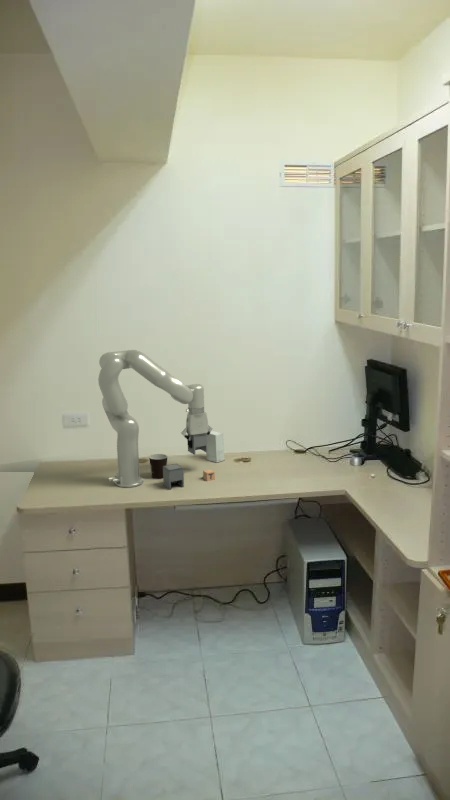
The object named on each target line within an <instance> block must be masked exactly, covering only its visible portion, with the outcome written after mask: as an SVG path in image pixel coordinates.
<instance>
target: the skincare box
mask: <svg viewBox="0 0 450 800" xmlns="http://www.w3.org/2000/svg"><path fill="white" fill-rule="evenodd" d="M224 440H225V439H224V432H220V431H216V430H212V431H211V432H210V434H209V435H208V437H207V453H206V452H205V454H206V460H207V461H210V462H213V463H220V462H224V461H225V459H226V458H225V457H226V456H225V442H224Z"/></svg>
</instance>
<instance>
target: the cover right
mask: <svg viewBox="0 0 450 800" xmlns="http://www.w3.org/2000/svg"><path fill="white" fill-rule="evenodd" d="M186 433H187V432H186ZM186 435H188V433H187V434H186ZM191 440H192V448H189V447H188V446H187V452H189V453H191V454H193V455H194V456H195V455H196V451H199V450H201V451H203V452H205V454H206V453H207V434H205V433H204V434H199V435H192V438H191Z"/></svg>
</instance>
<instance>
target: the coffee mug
mask: <svg viewBox="0 0 450 800" xmlns="http://www.w3.org/2000/svg"><path fill="white" fill-rule="evenodd" d="M148 459H149V460H148V461H149V466H150V473H151V478H153V479H154V480H163V466H166V465H168V454H164V453H156V454H151V455H149V456H148Z"/></svg>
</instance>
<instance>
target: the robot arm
mask: <svg viewBox="0 0 450 800" xmlns="http://www.w3.org/2000/svg"><path fill="white" fill-rule="evenodd" d="M98 362H99V363H98V364H99V367H100V371H99V374H98V378H97V381H98V386H99V389H100V392H101V394H102V396H103V397H102V398H101V399H102V401H101V403H102V407H103V410H104V413H105V414H106V417H107V419H108V421H109V423H110V426H111V427H112V429H113V430H114V431H115V432H116V433H117V434H116V435H117V436H116V437H117V438H116V439H117V440H116V452H117V470H118V471H117V473H116V475H114V476H110V477H107V481H108V482H110V483H111V482H112V483H115V486H118V487H121V488H134V487H138V486H140V485H142V484H144V479H143V477H140V457H139V432H140V427H139V423H138V421H137V419H135V418H134V417H133V416H131V415H130V414H129V412H128V407H129V406H128V405H129V404H128V403H129V402H128V400H127V399H126V397H125V394H124V392H123V390H122V388H121V387H122V386H121V385H120V382H119V376H120V374H121V372H122V370H127V369H132V370H133V371H135V372H136V373H138V374H139V375H140V376H142V377H143V378H144V379H145V380H147V381H148V382H149V383H151V384H152V385H153V386H155V387H157V388H158V389H160V390H163V391H164V392H166V393H168V394H169V395H170V398H172V399H173V400H175V401H176V402H178V403H180V404H183V405H188V407H187V408H186V409H185V412H186V413H187V414H186V420H185V421H186V422H185V428H184V429H183V430H182V431H181V432H180V434H181V435H182V436H183V437H184V438H185V439H186V440H187V448H188V447H189V448H192V440H191V438H192V435H199V434H204V433H205V434H207V437H208V435H209V434H210V432H211V431H213V427H212V426H210V424H209V420H208V415H207V413H206V412H205V394H204V393H205V392H204V391H205V388H204V385H203V384H200V383H199V384H198V383H193V384H184V383H183V382H181V381H180V380H179V379H177V378H176V377H175V376H174V375H172V374H171V373H170V372H168V371H167V370H166V369H165V368H163V367H162V366H161V365H159V364H158V363H157V362H155V361H154V360H153V359H152V358H151V357H149V356H148V355H146V354H145V353H144V352H142V351H140V350H136V349H130V350H129V349H128V350H120V351H119V350H118V351H109V352H105V353H102V355H101V356H100V358H99V361H98ZM186 433H188V435H187V434H186Z"/></svg>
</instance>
